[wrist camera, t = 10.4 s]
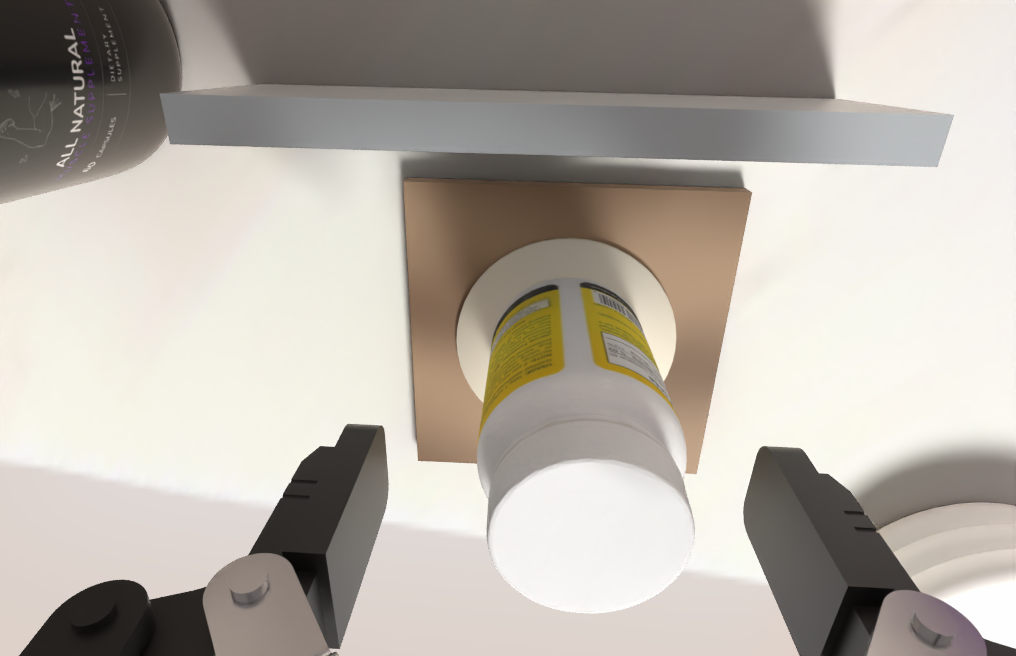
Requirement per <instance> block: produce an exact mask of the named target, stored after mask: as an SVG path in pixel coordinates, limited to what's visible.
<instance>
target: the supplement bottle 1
mask: <svg viewBox="0 0 1016 656" xmlns="http://www.w3.org/2000/svg"><path fill="white" fill-rule="evenodd" d="M181 85H182V75H181V63H180V57H179V51H178V47H177V43H176V39H175V36H174V33H173V30H172V27H171V24H170V22H169V20H168V17H167V15H166V13H165V11H164V9H163V7H162V5H161V3H160V1H159V0H0V204H3V203H7V202H11V201H15V200H19V199H23V198H27V197H31V196H35V195H39V194H43V193H47V192H51V191H55V190H59V189H63V188H66V187H70V186H74V185H78V184H82V183H86V182H90V181H94V180H98V179H101V178H104V177H108V176H112V175H115V174H119V173H121V172H123V171H126V170H128V169H131V168H133V167H135V166H137V165H138V164H140V163H142V162H143V161H144V160H146V159H147V158H149V157H150V156H151V155H152V154H153V153H154V152H155V151H156V150H157V149H158V148H159V147H160V145H161V144H162V143H163V142H164V140H165V139H166V137H167V135H168V131H167V126H166V122H165V117H164V112H163V108H162V103H161V98H160V94H161V93H172V92H181Z"/></svg>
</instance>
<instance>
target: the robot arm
mask: <svg viewBox="0 0 1016 656" xmlns="http://www.w3.org/2000/svg"><path fill="white" fill-rule="evenodd" d="M387 498H388V470H387V457H386V444H385V432H384V428H383V426H379V425H359V424H347V425H346V426H345V428H344V430H343V432H342V434H341V436H340V438H339V440H338V442H337V444H336V446H335V447H325V446H320V447H319V448H318V449H316V450H315V451H314V452H313V453H311V454H310V455H309V456H308V457H306V458H305V459H304V460H303V461H302V462H301V464H300V465H299V467H298V469H297V471H296V472H295V474H294V476H293V478H292V479H291V483H289V485H288V486H287V488H286V490H285V492H284V493H283V498H281V499H280V500H279V502H278V504H277V506H276V507H275V509H274V511H273V513H272V515H271V516H270V518H269V520H268V522H267V523H266V525H265V527H264V529H263V530H262V532H261V534H260V536H259V537H258V539H257V541H256V543H255V544H254V546H253V548H252V550H251V551H250V553H249V555H247V556H245V557H242V558H239V559H237V560H235V561H233V562H231V563H229V564H228V565H226V566H225V567H224V568H222V569H221V570H220V571H219V572H217V573H216V574H215V576H214V577H213V578H212V579H211V580H210V582H209V583H208V585H207V587H204V588H201V589H197V590H194V591H189V592H185V593H180V594H175V595H170V596H165V597H161V598H156V599H151V600H149V597H148V595H147V592H146V590H145V589H144V587H142V586H141V585H140V584H138V583H136V582H134V581H130V580H113V581H108V582H103V583H100V584H97V585H94V586H92V587H89V588H87V589H85V590H83V591H81V592H79V593H77V594H76V595H74V596H73V597H71V598H70V599H68V600H67V601H66V602H64V603H63V604H62V605H61V606H60V607H59V608H58V609H56V610H55V612H54V613H53V614H52V615H51V616H50V617H49V618H48V620H47V621H46V622H45V623H44V625H43V626H42V627H41V629H40V630H39V631H38V632H37V634H36V635H35V636H34V638H33V639H32V640H31V641H30V643H29V644H28V645H27V646H26V648H25V649H24V650H23V651H22V653H21V654H20V655H19V656H339V655H338V654H337V652H334V653H331V652H330V650H329V648H332V649H340V646H341V643H342V640H343V637H344V634H345V631H346V628H347V625H348V622H349V619H350V616H351V613H352V610H353V607H354V604H355V601H356V598H357V594H358V592H359V589H360V586H361V583H362V579H363V576H364V573H365V570H366V567H367V564H368V561H369V558H370V555H371V552H372V549H373V546H374V543H375V540H376V537H377V534H378V531H379V528H380V525H381V522H382V519H383V516H384V513H385V509H386V504H387ZM743 513H744V524H745V528H746V532H747V534H748V537H749V539H750V541H751V544H752V546H753V548H754V551H755V553H756V555H757V558H758V560H759V562H760V565H761V567H762V569H763V572H764V574H765V576H766V579H767V581H768V583H769V586H770V588H771V590H772V592H773V595H774V597H775V599H776V602H777V604H778V606H779V609H780V611H781V613H782V616H783V618H784V620H785V623H786V625H787V627H788V629H789V632H790V634H791V637H792V639H793V641H794V644H795V646H796V648H797V651H798V653H799V655H800V656H1016V649H1015V648H1012V647H1009V646H1006V645H1002V644H999V643H996V642H993V641H990V640H987V639H984V638H983V637H982V636H981V634H980V632H979V631H978V630H977V628H976V627H975V626H974V625H973V624H972V623H971V621H970V620H968V619H967V618H966V617H965V616H964V615H963V614H962V613H960V612H959V611H958V610H956V609H955V608H954V607H952V606H950V605H949V604H947V603H945V602H944V601H942V600H940V599H938V598H935V597H933V596H931V595H928V594H925V593H922V592H920V590H919V589H918V587H917V586H916V585H915V583H914V582H913V580H912V579H911V577H910V576H909V575H908V573H907V572H906V570H905V569H904V568H903V566H902V565H901V563H900V562H899V560H898V559H897V558H896V556H895V555H894V553H893V552H892V550H891V549H890V548H889V546H888V545H887V543H886V542H885V540H884V539H883V538H882V536H881V535H880V533H878V532H876V528H875V526H874V525H873V523H872V522H871V521H870V519H869V518H868V516H865V515H864V511H863V509H862V508H861V506H860V505H859V503H858V502H857V501H856V499H855V498H854V496H853V495H852V493H851V492H850V491H849V490H847V489H846V488H845V487H844V486H842V485H841V484H840V483H839V482H837V481H836V480H835V479H834V478H832V477H831V476H830V475H829V474H819V473H818V472H817V470H816V469H815V467H814V466H813V464H812V462H811V461H810V459H809V458H808V456H807V455H806V453H805V452H804V451H803V450H802V449H800V448H788V447H768V446H763V447H761V448H760V449H759V451H758V453H757V456H756V460H755V464H754V468H753V471H752V475H751V479H750V483H749V486H748V490H747V494H746V498H745V502H744V511H743Z"/></svg>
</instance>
